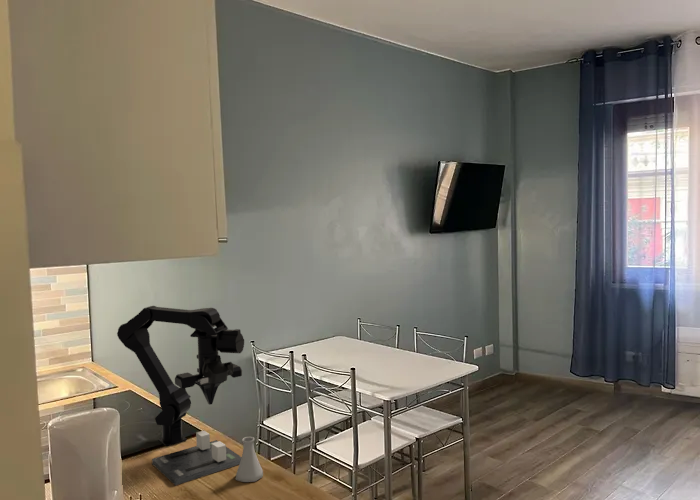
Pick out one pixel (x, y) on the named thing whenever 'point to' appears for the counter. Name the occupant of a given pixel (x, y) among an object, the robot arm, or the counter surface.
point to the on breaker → (218, 451)
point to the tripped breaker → (203, 440)
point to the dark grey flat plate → (193, 464)
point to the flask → (249, 463)
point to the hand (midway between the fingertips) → (210, 404)
